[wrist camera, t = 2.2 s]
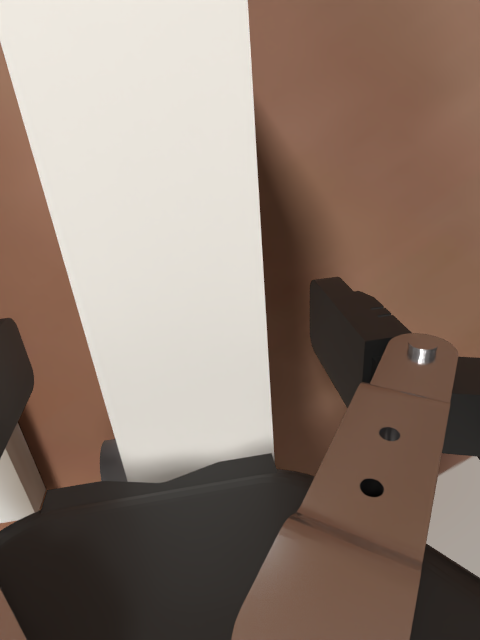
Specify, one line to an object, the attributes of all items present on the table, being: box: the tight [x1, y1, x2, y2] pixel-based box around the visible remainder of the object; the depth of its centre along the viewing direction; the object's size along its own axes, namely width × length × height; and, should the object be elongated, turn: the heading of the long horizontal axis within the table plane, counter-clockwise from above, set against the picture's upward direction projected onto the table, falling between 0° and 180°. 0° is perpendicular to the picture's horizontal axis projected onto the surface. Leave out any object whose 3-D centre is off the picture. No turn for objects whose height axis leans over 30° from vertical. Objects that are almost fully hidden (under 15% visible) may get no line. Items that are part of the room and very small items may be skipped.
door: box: [0, 0, 275, 483], centre depth 12 cm, size 4×16×9 cm, turn 5°
